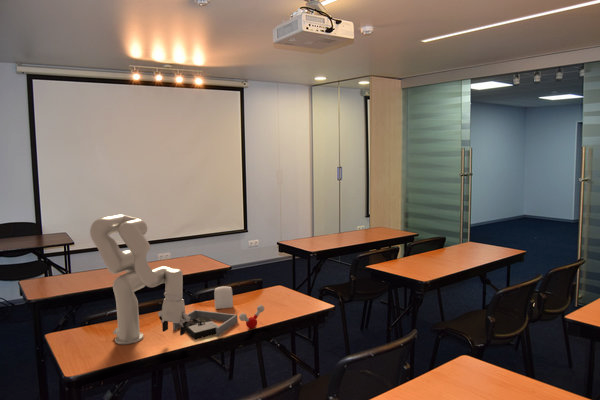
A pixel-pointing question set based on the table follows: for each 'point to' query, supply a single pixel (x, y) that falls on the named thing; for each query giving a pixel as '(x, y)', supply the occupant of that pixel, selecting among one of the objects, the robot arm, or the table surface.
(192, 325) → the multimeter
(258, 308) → the molecular model
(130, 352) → the table surface
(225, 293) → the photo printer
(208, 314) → the grey low wall frame
